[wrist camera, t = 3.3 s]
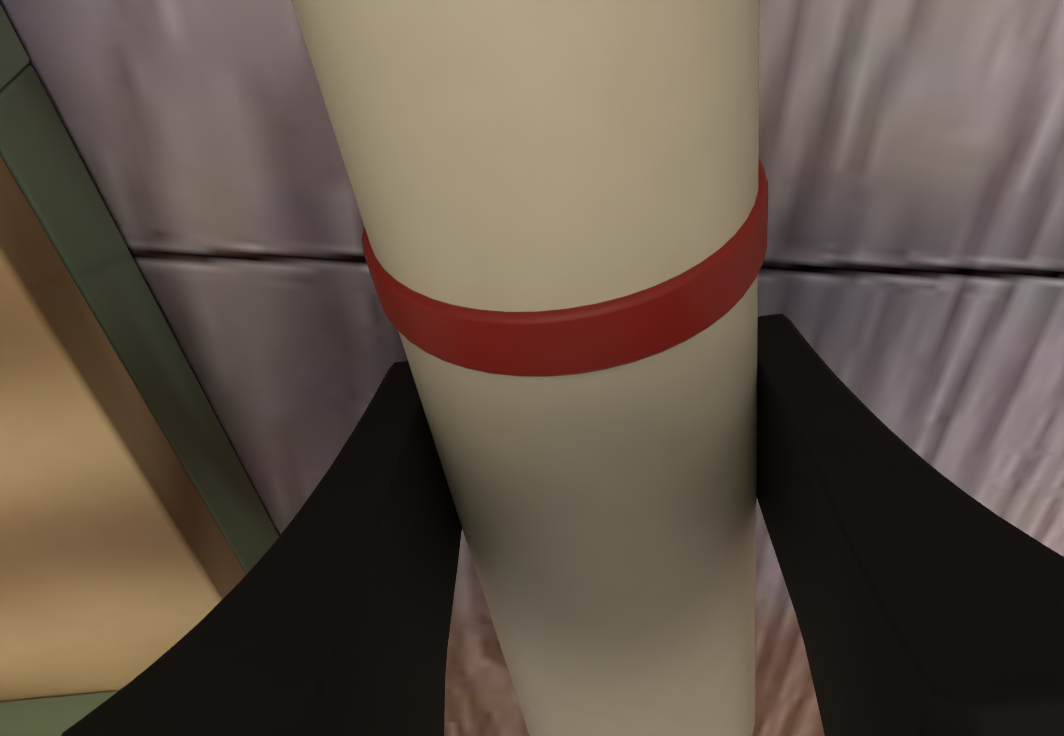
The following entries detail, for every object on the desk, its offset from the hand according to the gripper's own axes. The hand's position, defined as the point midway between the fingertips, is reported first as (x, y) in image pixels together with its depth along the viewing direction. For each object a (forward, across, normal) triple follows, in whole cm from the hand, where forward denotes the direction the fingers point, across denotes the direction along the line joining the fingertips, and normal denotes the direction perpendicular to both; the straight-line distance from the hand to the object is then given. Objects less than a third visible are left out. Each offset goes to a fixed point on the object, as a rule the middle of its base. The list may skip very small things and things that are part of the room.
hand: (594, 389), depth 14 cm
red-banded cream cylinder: (+1, 0, 0) cm, 1 cm away
